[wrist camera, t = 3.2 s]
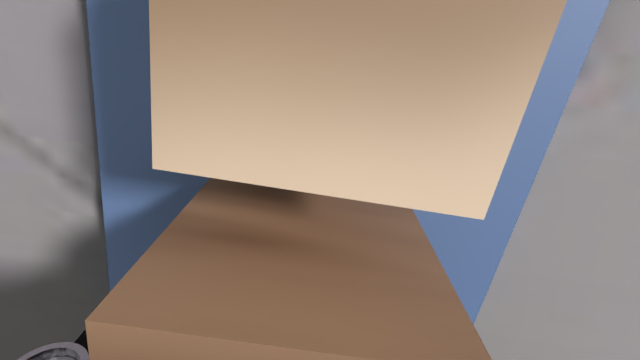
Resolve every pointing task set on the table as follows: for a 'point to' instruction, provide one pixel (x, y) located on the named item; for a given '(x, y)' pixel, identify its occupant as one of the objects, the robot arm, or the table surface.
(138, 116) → the board
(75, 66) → the table surface
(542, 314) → the table surface
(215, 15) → the maple cube
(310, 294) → the walnut cube
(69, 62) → the table surface
